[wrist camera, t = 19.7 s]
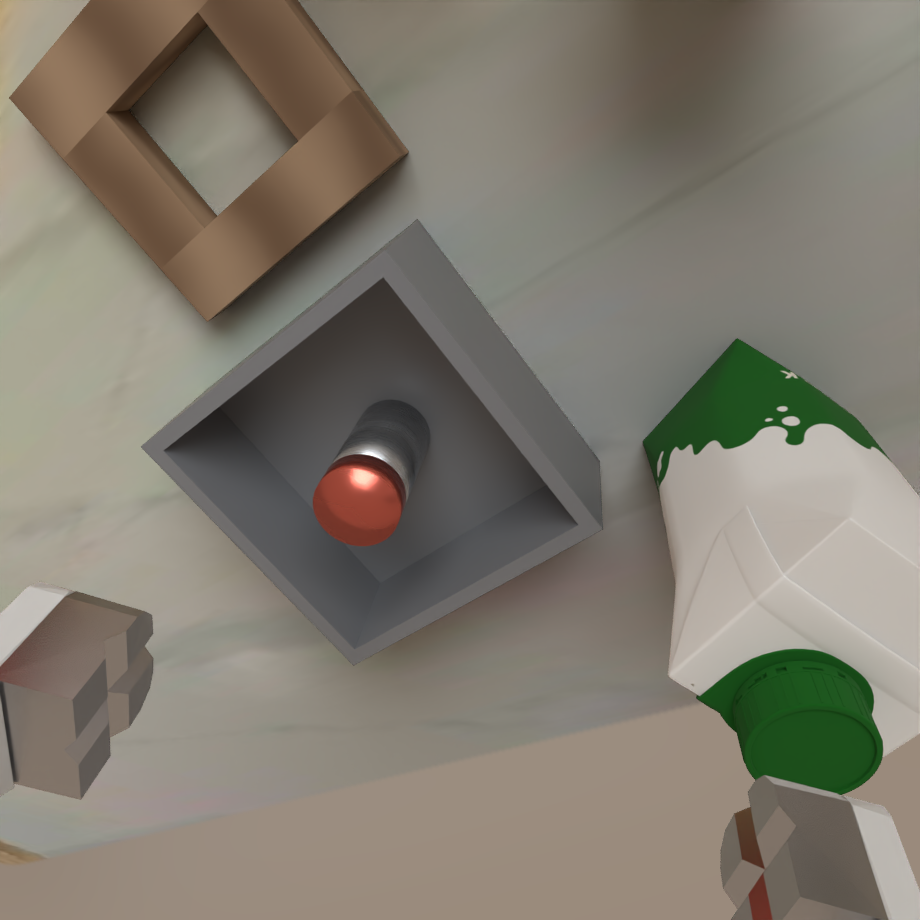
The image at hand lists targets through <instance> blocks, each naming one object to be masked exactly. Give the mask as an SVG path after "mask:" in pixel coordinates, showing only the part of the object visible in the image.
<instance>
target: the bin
mask: <svg viewBox="0 0 920 920" xmlns="http://www.w3.org/2000/svg"><path fill="white" fill-rule="evenodd" d="M382 400H398V401H402V402H405V403H407V404H410V405H411V406H413V407H414V408H416V409H417V410H418V411H419V412H420V413H421V414H422V415H423V417H424V418H425V420H426V421H427V424H428V426H429V429H430V444H429V447H428V450H427V452H426V455H425V457H424V460H423V462H422V465H421V467H420V470H419V472H418V475H417V477H416V480H415V482H414V485H413V487H412V490H411V492H410V495H409V497H408V500H407V502H406V505H405V507H404V510H403V512H402V515H401V517H400V520H399V522H398V525H397V527H396V529H395V531H394V532H393V533H392V534H391V536H390V537H388V538H387V539H386V540H384V541H382V542H380V543H378V544H375V545H371V546H354V545H349V544H346V543H343V542H341V541H339V540H337V539H335V538H334V537H332V536H331V535H329V534H328V533H327V532H326V531H325V530H324V529H323V528H322V526H321V525H320V524H319V522H318V520H317V518H316V516H315V513H314V509H313V495H314V492H315V489H316V487H317V486H318V484H319V482H320V481H321V479H322V477H323V476H324V474H325V473H326V471H327V470H328V468H329V466H330V465H331V463H332V462H333V460H334V458H335V457H336V455H337V454H338V452H339V450H340V449H341V447H342V446H343V444H344V442H345V441H346V439H347V438H348V436H349V434H350V433H351V431H352V430H353V428H354V426H355V425H356V423H357V422H358V420H359V418H360V417H361V415H362V414H363V412H364V411H365V410H366V409H367V408H368V407H369V406H371V405H372V404H374V403H376V402H379V401H382ZM141 448H142V449H143V450H144V451H145V452H146V453H147V454H148V455H149V456H150V457H151V458H152V459H153V460H154V461H155V462H156V463H157V464H158V465H159V466H160V467H161V468H162V469H163V470H164V471H165V472H166V473H167V474H168V475H169V476H170V477H171V479H172V480H173V481H174V482H175V483H176V484H177V485H178V486H179V487H180V488H181V489H182V490H183V491H184V492H185V493H186V494H187V495H188V496H189V497H190V498H191V499H192V500H193V501H194V502H195V503H196V504H197V505H198V506H199V507H200V508H201V509H202V510H203V511H204V512H205V513H206V515H207V516H208V517H209V518H210V519H211V520H212V521H213V522H214V523H215V524H216V525H217V526H218V527H219V528H220V529H221V530H222V531H223V532H224V533H225V534H226V535H227V536H228V537H229V538H230V539H231V540H232V541H233V542H234V543H235V544H236V545H237V546H238V547H239V548H240V549H241V551H242V552H243V553H244V554H245V555H246V556H247V557H248V558H249V559H250V560H251V561H252V562H253V563H254V564H255V565H256V566H257V567H258V568H259V569H260V570H261V571H262V572H263V573H264V574H265V575H266V576H267V577H268V578H269V579H270V580H271V581H272V582H273V583H274V584H275V585H276V587H277V588H278V589H279V590H280V591H281V592H282V593H283V594H284V595H285V596H286V597H287V598H288V599H289V600H290V601H291V602H292V603H293V604H294V605H295V606H296V607H297V608H298V609H299V610H300V611H301V612H302V613H303V614H304V615H305V616H306V617H307V618H308V619H309V620H310V621H311V623H312V624H313V625H314V626H315V627H316V628H317V629H318V630H319V631H320V632H321V633H322V634H323V635H324V636H325V637H326V638H327V639H328V640H329V641H330V642H331V643H332V644H333V645H334V646H335V647H336V648H337V649H338V650H339V651H340V652H341V653H342V654H343V655H344V656H345V657H346V658H347V660H348V661H349V662H350V663H351V664H352V665H355V664H357V663H359V662H361V661H363V660H364V659H366V658H368V657H370V656H372V655H374V654H375V653H377V652H379V651H381V650H383V649H385V648H386V647H388V646H390V645H392V644H394V643H396V642H397V641H399V640H401V639H403V638H405V637H407V636H408V635H410V634H412V633H414V632H416V631H418V630H419V629H421V628H423V627H425V626H427V625H429V624H430V623H432V622H434V621H436V620H438V619H440V618H441V617H443V616H445V615H447V614H449V613H451V612H452V611H454V610H456V609H458V608H460V607H462V606H463V605H465V604H467V603H469V602H471V601H473V600H474V599H476V598H478V597H480V596H482V595H484V594H485V593H487V592H489V591H491V590H493V589H495V588H496V587H498V586H500V585H502V584H504V583H506V582H507V581H509V580H511V579H513V578H515V577H517V576H518V575H520V574H522V573H524V572H526V571H527V570H529V569H531V568H533V567H535V566H537V565H538V564H540V563H542V562H544V561H546V560H548V559H549V558H551V557H553V556H555V555H557V554H559V553H560V552H562V551H564V550H566V549H568V548H570V547H571V546H573V545H575V544H577V543H579V542H581V541H582V540H584V539H586V538H588V537H590V536H592V535H593V534H595V533H597V532H599V531H601V530H603V522H602V501H601V481H600V461H599V460H598V458H597V457H596V456H595V454H594V453H593V452H592V450H591V449H590V448H589V446H588V445H587V444H586V442H585V441H584V440H583V438H582V437H581V436H580V434H579V433H578V432H577V430H576V429H575V428H574V426H573V425H572V424H571V422H570V421H569V420H568V418H567V417H566V416H565V414H564V413H563V412H562V410H561V409H560V408H559V406H558V405H557V404H556V403H555V401H554V400H553V399H552V397H551V396H550V395H549V393H548V392H547V391H546V389H545V388H544V387H543V385H542V384H541V383H540V381H539V380H538V379H537V377H536V376H535V375H534V373H533V372H532V371H531V369H530V368H529V367H528V365H527V364H526V363H525V361H524V360H523V359H522V357H521V356H520V355H519V353H518V352H517V351H516V349H515V348H514V347H513V345H512V344H511V343H510V341H509V340H508V339H507V337H506V336H505V335H504V333H503V332H502V331H501V329H500V328H499V327H498V325H497V324H496V323H495V321H494V320H493V319H492V317H491V316H490V315H489V313H488V312H487V311H486V309H485V308H484V307H483V305H482V304H481V303H480V302H479V300H478V299H477V298H476V296H475V295H474V294H473V292H472V291H471V290H470V288H469V287H468V286H467V284H466V283H465V282H464V280H463V279H462V278H461V276H460V275H459V274H458V272H457V271H456V270H455V268H454V267H453V266H452V264H451V263H450V262H449V260H448V259H447V258H446V256H445V255H444V254H443V252H442V251H441V250H440V248H439V247H438V246H437V244H436V243H435V242H434V240H433V239H432V238H431V236H430V235H429V234H428V232H427V231H426V230H425V228H424V227H423V226H422V224H421V223H420V222H419V220H418V219H417V220H416V221H415V222H414V223H412V224H411V225H410V226H409V227H407V228H406V229H405V230H404V231H402V232H401V233H400V234H399V235H398V236H396V237H395V238H394V239H393V240H391V241H390V242H389V243H388V244H386V245H385V246H384V247H383V248H381V249H380V250H379V251H378V252H376V253H375V254H374V255H373V256H372V257H370V258H369V259H368V260H367V261H365V262H364V263H363V264H362V265H360V266H359V267H358V268H357V269H355V270H354V271H353V272H352V273H351V274H349V275H348V276H347V277H346V278H344V279H343V280H342V281H341V282H339V283H338V284H337V285H336V286H334V287H333V288H332V289H331V290H329V291H328V292H327V293H326V294H325V295H323V296H322V297H321V298H320V299H318V300H317V301H316V302H315V303H313V304H312V305H311V306H310V307H308V308H307V309H306V310H305V311H304V312H302V313H301V314H300V315H299V316H297V317H296V318H295V319H294V320H292V321H291V322H290V323H289V324H287V325H286V326H285V327H284V328H282V329H281V330H280V331H279V332H278V333H276V334H275V335H274V336H273V337H271V338H270V339H269V340H268V341H266V342H265V343H264V344H263V345H261V346H260V347H259V348H258V349H257V350H255V351H254V352H253V353H252V354H250V355H249V356H248V357H247V358H245V359H244V360H243V361H242V362H240V363H239V364H238V365H237V366H235V367H234V368H233V369H232V370H231V371H229V372H228V373H227V374H226V375H224V376H223V377H222V378H221V379H219V380H218V381H217V382H216V383H214V384H213V385H212V386H211V387H210V388H208V389H207V390H206V391H205V392H203V393H202V394H201V395H200V396H199V397H198V398H196V399H195V400H194V401H193V402H192V403H191V404H189V405H188V406H187V407H186V408H185V409H184V410H183V411H181V412H180V413H179V414H178V415H177V416H176V417H174V418H173V419H172V420H171V421H170V422H169V423H168V424H166V425H165V426H164V427H163V428H162V429H161V430H159V431H158V432H157V433H156V434H155V435H154V436H153V437H151V438H150V439H149V440H148V441H147V442H146V443H144V444H143V445H142V446H141Z"/></svg>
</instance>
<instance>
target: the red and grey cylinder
mask: <svg viewBox="0 0 920 920" xmlns="http://www.w3.org/2000/svg"><path fill="white" fill-rule="evenodd" d="M429 444H430V429H429V426H428V424H427V421H426V420H425V418H424V417H423V415H422V414H421V413H420V412H419V411H418V410H417V409H416V408H414V407H413V406H411V405H410V404H407V403H405V402H402V401H398V400H382V401H379V402H376V403H374V404H372V405H371V406H369V407H368V408H367V409H366V410H365V411H364V412H363V414H362V415H361V417H360V418H359V420H358V422H357V423H356V425H355V426H354V428H353V430H352V431H351V433H350V434H349V436H348V438H347V439H346V441H345V442H344V444H343V446H342V447H341V449H340V450H339V452H338V454H337V455H336V457H335V458H334V460H333V462H332V463H331V465H330V466H329V468H328V470H327V471H326V473H325V474H324V476H323V477H322V479H321V481H320V482H319V484H318V486H317V487H316V489H315V492H314V495H313V509H314V513H315V516H316V518H317V520H318V522H319V524H320V525H321V526H322V528H323V529H324V530H325V531H326V532H327V533H328V534H329V535H331V536H332V537H334V538H335V539H337V540H339V541H341V542H343V543H346V544H349V545H354V546H371V545H375V544H378V543H380V542H382V541H384V540H386V539H387V538H388V537H390V536H391V534H392V533H393V532H394V531H395V529H396V527H397V525H398V522H399V520H400V517H401V515H402V512H403V510H404V507H405V505H406V502H407V500H408V497H409V495H410V492H411V490H412V487H413V485H414V482H415V480H416V477H417V475H418V472H419V470H420V467H421V465H422V462H423V460H424V457H425V455H426V452H427V450H428V447H429Z"/></svg>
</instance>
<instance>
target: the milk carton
mask: <svg viewBox="0 0 920 920" xmlns="http://www.w3.org/2000/svg"><path fill="white" fill-rule="evenodd" d="M643 444H644V447H645V450H646V454H647V457H648V460H649V463H650V467H651V470H652V473H653V476H654V480H655V483H656V486H657V489H658V492H659V497H660V502H661V507H662V513H663V518H664V523H665V529H666V534H667V540H668V545H669V551H670V556H671V562H672V567H673V573H674V578H675V584H676V587H675V600H674V611H673V623H672V634H671V645H670V656H669V666H668V676H669V677H670V678H671V679H672V680H674V681H675V682H677V683H678V684H680V685H682V686H683V687H685V688H687V689H689V690H690V691H692V692H694V693H695V694H697V696H696V698H697V699H698V700H699V701H701V702H702V703H704V704H705V705H707V706H709V707H710V708H712V709H714V710H716V711H717V712H719V713H720V714H721V716H722V718H723V719H724V720H725V722H726V723H727V724H728V725H729V726H730V727H731V728H732V729H733V730H734V731H735V732H737V736H738V740H739V744H740V748H741V752H742V756H743V760H744V763H745V764H746V767H747V769H748V771H749V772H750V774H751V775H752V777H753V778H754V779H755V780H756V779H758V778H760V777H762V776H763V775H766V776H770V777H774V778H778V779H782V780H786V781H790V782H794V783H798V784H802V785H806V786H809V787H813V788H817V789H821V790H825V791H829V792H833V793H837V794H839V795H842V794H845V793H847V792H850V791H852V790H854V789H856V788H858V787H859V786H861V785H862V784H863V783H865V782H866V781H867V780H869V779H870V778H871V777H872V776H873V774H874V773H875V772H876V771H877V769H878V767H879V765H880V763H881V760H882V758H883V757H885V756H886V755H888V754H889V753H891V752H892V751H894V750H895V749H897V748H898V747H900V746H901V745H903V744H904V743H906V742H908V741H909V740H911V739H912V738H914V737H915V736H917V735H918V734H920V497H919V496H918V494H917V493H916V492H915V491H914V489H913V488H912V487H911V486H910V484H909V483H908V482H907V481H906V479H905V478H904V477H903V475H902V474H901V473H900V472H899V470H898V469H897V468H896V467H895V465H894V464H893V463H892V462H891V460H890V459H889V458H888V457H887V455H886V454H885V453H884V451H883V450H882V449H881V448H880V446H879V445H878V444H877V443H876V441H875V440H874V439H873V438H872V436H871V435H870V434H869V433H868V431H867V430H866V429H865V428H864V426H863V425H862V424H861V423H860V422H859V421H858V420H857V419H856V418H855V417H854V416H853V415H852V414H850V413H849V412H848V411H846V410H845V409H844V408H842V407H841V406H840V405H838V404H837V403H836V402H834V401H833V400H831V399H830V398H829V397H827V396H826V395H825V394H823V393H822V392H821V391H819V390H818V389H817V388H815V387H814V386H813V385H811V384H810V383H809V382H807V381H806V380H804V379H803V378H801V377H799V376H798V375H796V374H795V373H793V372H791V371H790V370H788V369H786V368H785V367H783V366H782V365H780V364H778V363H777V362H775V361H773V360H772V359H770V358H769V357H767V356H765V355H764V354H762V353H760V352H759V351H757V350H756V349H754V348H752V347H751V346H749V345H747V344H746V343H744V342H743V341H741V340H739V339H738V338H737V339H736V340H735V341H734V342H733V343H732V344H731V345H730V346H729V348H728V349H727V350H726V351H725V352H724V353H723V354H722V355H721V356H720V357H719V358H718V360H717V361H716V362H715V363H714V364H713V365H712V366H711V367H710V368H709V369H708V371H707V372H706V373H705V374H704V375H703V376H702V377H701V378H700V379H699V380H698V382H697V383H696V384H695V385H694V386H693V387H692V388H691V389H690V390H689V391H688V392H687V394H686V395H685V396H684V397H683V398H682V399H681V400H680V401H679V402H678V403H677V405H676V406H675V407H674V408H673V409H672V410H671V411H670V412H669V413H668V414H667V416H666V417H665V418H664V419H663V420H662V421H661V422H660V423H659V424H658V425H657V426H656V428H655V429H654V430H653V431H652V432H651V433H650V434H649V435H648V436H647V437H646V439H645V440H644V441H643Z"/></svg>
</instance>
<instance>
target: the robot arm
mask: <svg viewBox="0 0 920 920" xmlns="http://www.w3.org/2000/svg"><path fill="white" fill-rule="evenodd" d="M152 635H153V622H152V615H151V614H149V613H147V612H145V611H142V610H138V609H135V608H131V607H128V606H125V605H121V604H118V603H114V602H111V601H108V600H104V599H101V598H97V597H94V596H91V595H87V594H84V593H80V592H77V591H72V590H68V589H65V588H61V587H58V586H54V585H51V584H47V583H44V582H40V581H39V582H37V583H35V584H33V585H30V586H28V587H27V588H25V589H24V590H23V591H22V592H21V593H20V594H19V595H18V596H17V597H16V598H15V599H14V600H13V601H12V602H11V603H10V604H9V605H8V606H7V607H6V608H5V609H4V610H3V611H2V612H1V613H0V797H1V796H2V795H4V794H5V793H7V792H8V791H10V790H12V789H13V788H14V784H18V785H22V786H26V787H31V788H35V789H39V790H43V791H47V792H51V793H55V794H59V795H63V796H68V797H72V798H76V799H80V800H81V799H82V797H83V796H84V794H85V793H86V791H87V790H88V788H89V787H90V786H91V784H92V783H93V781H94V780H95V778H96V777H97V775H98V774H99V772H100V771H101V769H102V768H103V766H104V765H105V763H106V762H107V760H108V759H109V757H110V756H111V755H110V737H112V736H114V735H116V734H118V733H120V732H122V731H124V730H125V729H127V728H129V727H130V725H131V724H132V722H133V721H134V719H135V718H136V716H137V715H138V713H139V711H140V710H141V708H142V705H143V703H144V700H145V698H146V696H147V693H148V691H149V689H150V684H151V679H152V674H153V657H152V656H151V654H150V653H149V652H148V650H147V649H146V647H145V644H146V643H147V642H148V640H149V639H150V637H151V636H152ZM748 796H749V801H750V807H749V808H747V809H744V810H742V811H739V812H737V813H735V814H734V815H733V817H732V819H731V821H730V823H729V824H728V826H727V828H726V830H725V833H724V838H723V843H722V847H721V867H720V868H721V876H722V884H723V889H724V890H725V892H726V893H727V894H728V896H729V897H730V899H731V900H732V902H733V903H734V904H735V906H736V907H737V909H738V910H737V911H736V913H735V914H734V916H733V917H732V919H731V920H920V890H919V888H918V885H917V883H916V880H915V878H914V875H913V872H912V869H911V867H910V864H909V861H908V859H907V856H906V854H905V851H904V848H903V846H902V843H901V840H900V838H899V835H898V832H897V830H896V827H895V825H894V822H893V819H892V817H891V815H890V813H889V812H888V811H887V810H886V809H885V808H884V806H882V805H878V804H874V803H870V802H866V801H863V800H859V799H855V798H851V797H847V796H844V795H843V796H840V795H839V794H837V793H833V792H829V791H825V790H821V789H817V788H813V787H809V786H806V785H802V784H798V783H794V782H790V781H786V780H782V779H778V778H774V777H770V776H766V775H763V776H762V777H760V778H758V779H756V780H755V782H754V784H753V785H752V787H751V788H750V790H749V791H748Z"/></svg>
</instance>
